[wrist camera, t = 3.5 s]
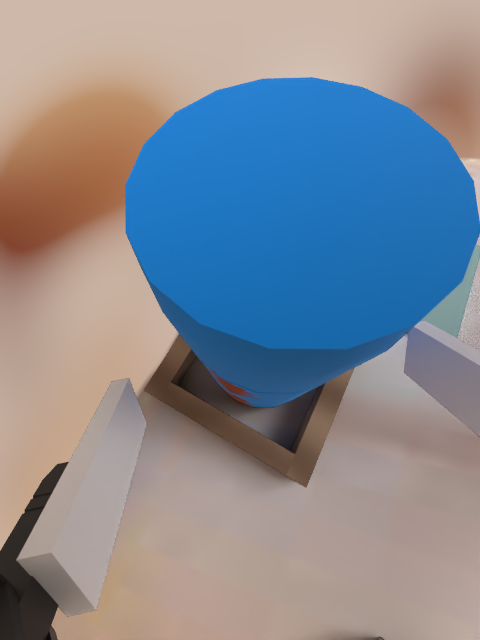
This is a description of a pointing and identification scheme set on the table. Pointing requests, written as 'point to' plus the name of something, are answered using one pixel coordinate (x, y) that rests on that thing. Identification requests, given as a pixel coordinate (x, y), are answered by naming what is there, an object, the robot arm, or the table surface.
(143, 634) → the table surface
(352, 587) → the table surface
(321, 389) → the dock
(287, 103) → the thermos
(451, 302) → the mat
